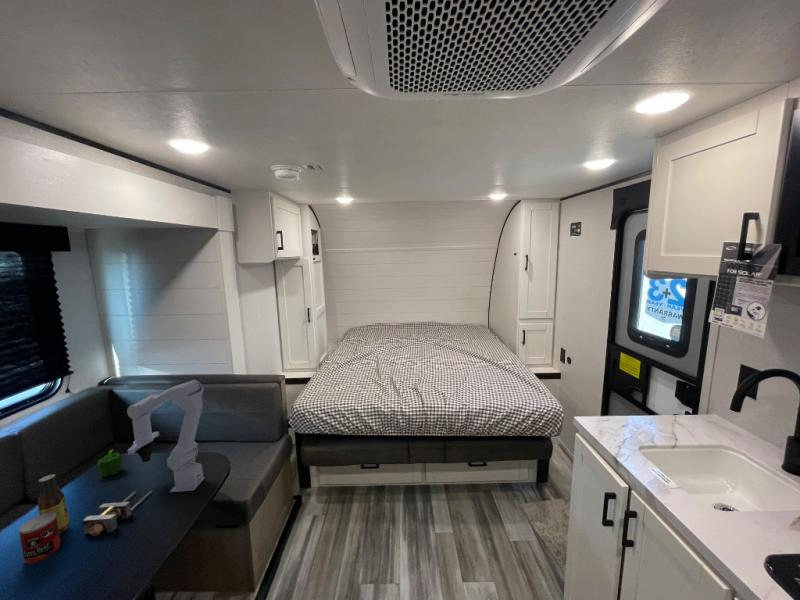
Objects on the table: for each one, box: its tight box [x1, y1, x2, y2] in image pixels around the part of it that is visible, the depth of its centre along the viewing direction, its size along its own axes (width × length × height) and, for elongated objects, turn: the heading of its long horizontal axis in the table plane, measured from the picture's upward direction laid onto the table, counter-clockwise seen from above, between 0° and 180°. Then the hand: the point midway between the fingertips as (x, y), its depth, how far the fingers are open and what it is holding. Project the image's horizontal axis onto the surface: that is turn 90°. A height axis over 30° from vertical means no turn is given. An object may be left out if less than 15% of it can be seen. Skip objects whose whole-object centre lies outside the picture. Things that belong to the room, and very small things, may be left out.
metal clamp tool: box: [82, 489, 154, 535], centre depth 118 cm, size 9×20×5 cm, turn 2°
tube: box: [89, 509, 121, 537], centre depth 112 cm, size 10×3×3 cm, turn 2°
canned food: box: [19, 512, 61, 565], centre depth 101 cm, size 8×8×11 cm
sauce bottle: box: [37, 473, 70, 535], centre depth 109 cm, size 6×6×20 cm
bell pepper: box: [97, 449, 123, 478], centre depth 143 cm, size 8×8×10 cm
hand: (146, 461), depth 135 cm, fingers closed
